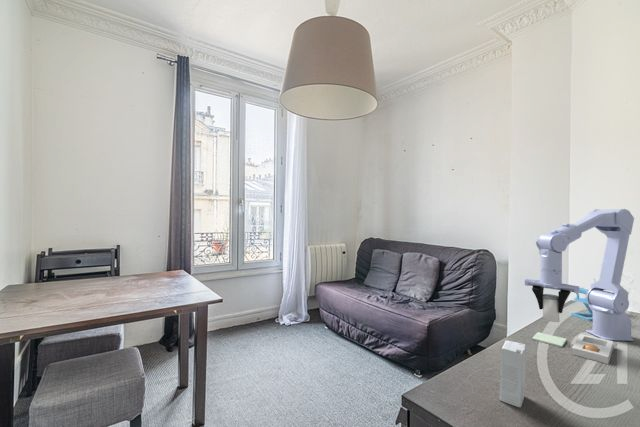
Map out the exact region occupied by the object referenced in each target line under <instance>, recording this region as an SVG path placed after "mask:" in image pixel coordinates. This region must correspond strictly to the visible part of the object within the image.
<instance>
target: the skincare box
mask: <svg viewBox="0 0 640 427" xmlns="http://www.w3.org/2000/svg"><path fill="white" fill-rule="evenodd" d="M500 350H501V351H500V352H501V353H500V371H499V372H500V376H499V401H501V402H503V403H505V404H508V405H511V406H514V407H517V408H522V405H523V403H524V398H525V395H526V362H527V345H526V344H525V343H520V342H517V341H512V340H507V339H505V341H504V344H503V346H502V347H501V348H500Z"/></svg>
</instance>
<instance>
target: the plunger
mask: <svg viewBox="0 0 640 427" xmlns="http://www.w3.org/2000/svg"><path fill="white" fill-rule="evenodd" d="M585 349H587V350H591V351H594V352H597V346H594V345H591V344H585Z"/></svg>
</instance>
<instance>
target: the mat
mask: <svg viewBox="0 0 640 427" xmlns="http://www.w3.org/2000/svg"><path fill="white" fill-rule="evenodd" d="M531 340H532V341H535V342H536V341H537V342H539V341H540V343H543V342H544V343H543V344H548V345H551V346H555V347H559V348H563V347H564V345H565V344H566V343H567V341H568V339H567V338H565V337H560V336H556V335H552V334H547V333H544V332H539V331H538V332H536V333H535V334H534V336H533V337H531Z"/></svg>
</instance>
